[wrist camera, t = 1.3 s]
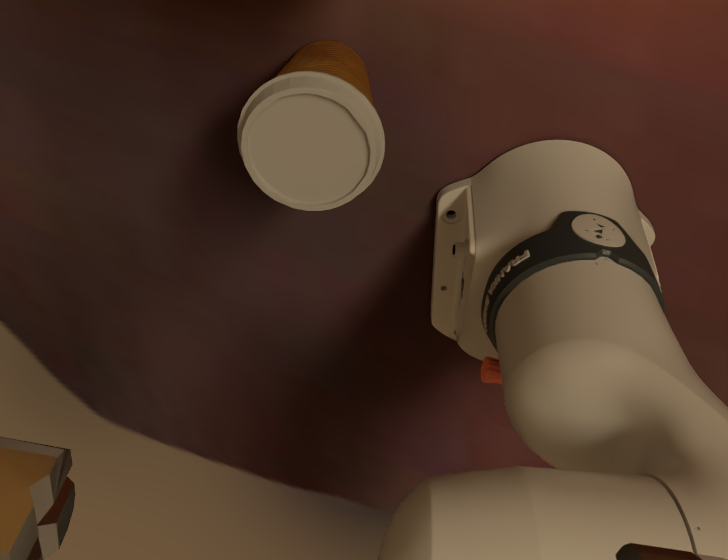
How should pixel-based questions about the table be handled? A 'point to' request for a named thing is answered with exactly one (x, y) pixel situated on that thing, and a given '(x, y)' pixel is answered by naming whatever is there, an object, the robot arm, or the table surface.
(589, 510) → the robot arm
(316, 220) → the table surface
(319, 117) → the disposable coffee cup
